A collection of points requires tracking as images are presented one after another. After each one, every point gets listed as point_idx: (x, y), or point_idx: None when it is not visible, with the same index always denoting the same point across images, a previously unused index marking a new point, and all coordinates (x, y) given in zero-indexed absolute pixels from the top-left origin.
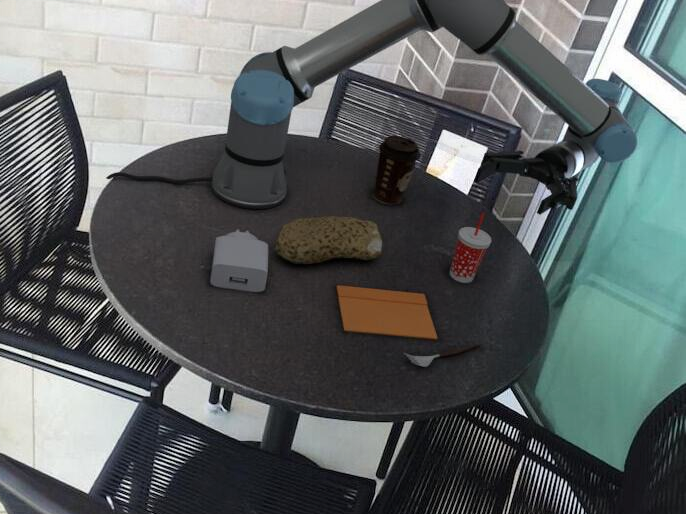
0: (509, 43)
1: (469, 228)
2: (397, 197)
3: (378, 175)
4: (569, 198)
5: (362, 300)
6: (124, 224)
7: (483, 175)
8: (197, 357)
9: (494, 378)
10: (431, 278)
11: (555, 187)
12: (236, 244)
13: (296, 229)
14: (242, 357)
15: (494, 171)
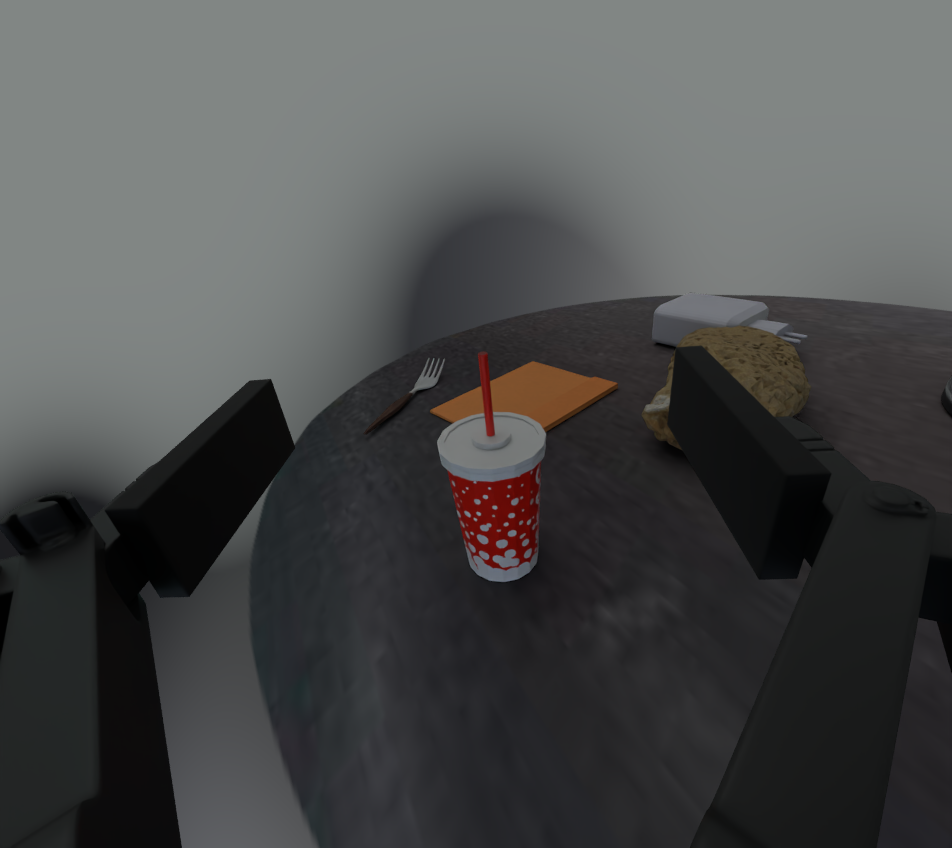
0: None
1: (530, 451)
2: None
3: None
4: (9, 569)
5: (566, 391)
6: (872, 312)
7: (689, 423)
8: (586, 304)
9: (326, 417)
10: (544, 497)
11: (116, 663)
12: (732, 304)
13: (746, 333)
14: (564, 316)
15: (760, 551)
